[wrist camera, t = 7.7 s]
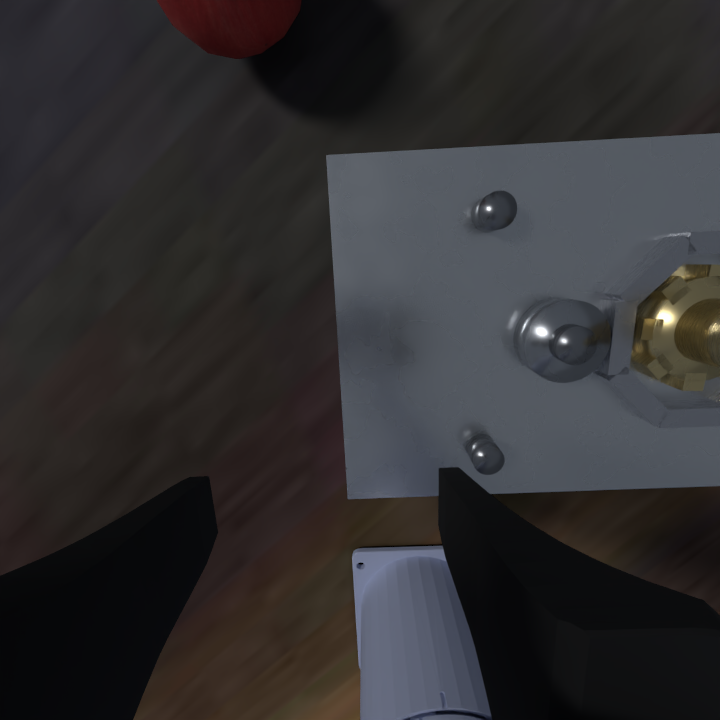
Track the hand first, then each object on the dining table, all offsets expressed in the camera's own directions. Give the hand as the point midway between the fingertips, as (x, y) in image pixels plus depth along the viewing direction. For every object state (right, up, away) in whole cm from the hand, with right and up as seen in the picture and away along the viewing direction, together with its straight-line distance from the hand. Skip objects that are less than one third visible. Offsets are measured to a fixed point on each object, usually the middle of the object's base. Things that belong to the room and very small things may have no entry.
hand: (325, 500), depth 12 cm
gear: (+17, +6, +7) cm, 20 cm away
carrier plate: (+11, +6, +9) cm, 15 cm away
